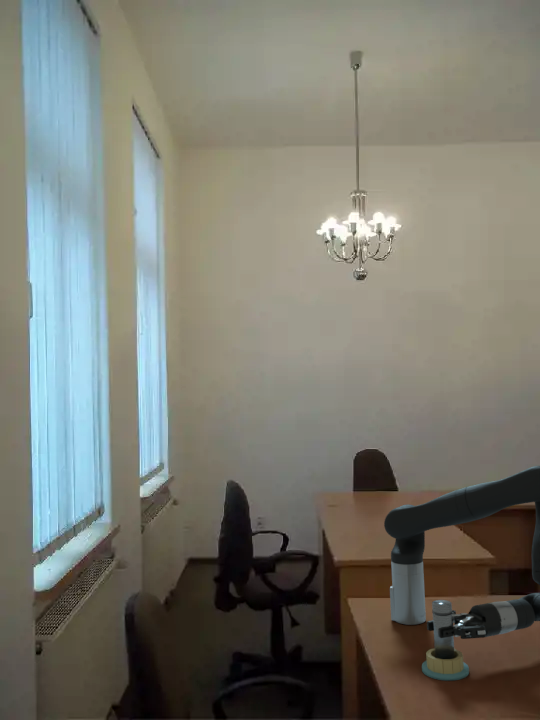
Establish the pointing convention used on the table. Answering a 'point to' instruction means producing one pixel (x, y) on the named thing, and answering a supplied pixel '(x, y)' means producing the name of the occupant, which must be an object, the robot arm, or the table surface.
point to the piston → (442, 619)
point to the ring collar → (445, 667)
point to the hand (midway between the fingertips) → (433, 629)
